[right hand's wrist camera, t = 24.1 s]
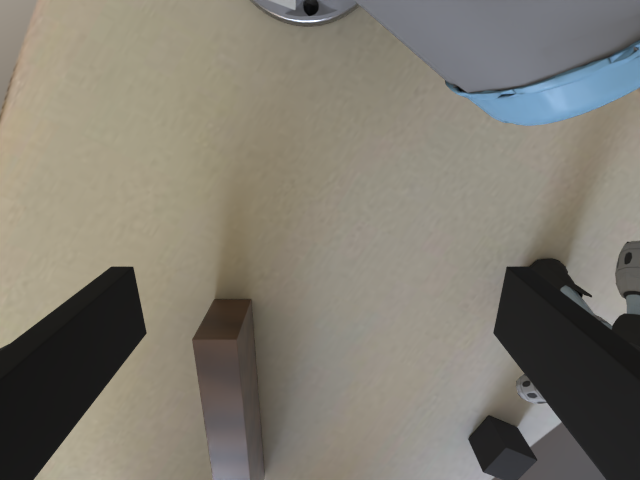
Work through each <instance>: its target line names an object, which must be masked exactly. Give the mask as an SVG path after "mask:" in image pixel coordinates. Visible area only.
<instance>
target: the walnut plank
mask: <svg viewBox="0 0 640 480" xmlns="http://www.w3.org/2000/svg"><path fill="white" fill-rule="evenodd" d="M192 341H193V348H194V355H195V361H196V368H197V375H198V382H199V388H200V395H201V402H202V409H203V415H204V422H205V429H206V436H207V442H208V449H209V456H210V463H211V469H212V476H213V480H264V476H265V472H264V459H263V446H262V433H261V420H260V407H259V393H258V380H257V367H256V354H255V341H254V328H253V315H252V302H251V299H215V300H214V301H213V303H212V305H211V307H210V308H209V310H208V312H207V314H206V316H205V317H204V319H203V321H202V323H201V325H200V326H199V328H198V330H197V332H196V334H195V335H194V337H193V339H192Z"/></svg>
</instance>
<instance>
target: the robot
mask: <svg viewBox="0 0 640 480" xmlns="http://www.w3.org/2000/svg"><path fill="white" fill-rule="evenodd" d="M530 268H531V269H532V270H533V271H535V272H536V273H537V274H539V275H540V276H541V277H543V278H544V279H545V280H547V281H548V282H549V283H551V284H552V285H553V286H555V287H556V288H557V289H558V290H560V291H561V292H562V293H564V294H565V295H566V296H568V297H569V298H570V299H572V300H573V301H574V302H576V303H577V304H578V305H580V306H581V307H582V308H584V309H585V310H586V311H587V312H589V313H590V314H591V315H593V316H594V317H595V318H597V319H598V320H599V321H601V322H602V323H603V324H605V325H606V326H607V327H609V328H610V329H611V330H612V331H614V332H615V333H616V334H618V335H619V336H620V337H622V338H623V339H624V340H626V341H627V342H628V343H633V344H635V345H637V346H639V347H640V241H631V242H627V243H626V244H625V245H624V247H623V248H622V250H621V252H620V254H619V258H618V262H617V266H616V273H615V274H616V275H615V276H616V285H617V288H618V290H619V293H620V294H621V296H622V297H623V298H625V299H626V302H627V314H623V315H621V316H619V317H618V319H617V320H616V321H615V323H614V324H613V326H611V325H610V324H609V323H608V322H606V321H605V320H604V319H602V318H601V317H599V316H596V315H595V314H594V313H593V312H592V311H591V309H590V308H589V307H588V305H587V304H586V303H585V301H584V300H583V299H582V296H583V294H584V295H586V296H589V297H592V295H590V294H589V293H587V292H586V291H584V290H583V289H581V288H580V287H579V286H577V285H576V284H575V283H574V282H573V280H572V279H571V277H570V276H569V275H568V271H567V269H566V266H564V265H563V264H562V263H561V262H560V261H558V260H555V259H541V260H537V261H536V262H535V263H534V264H532V265H531V266H530ZM516 388H517V391H518V395H519V396H520V397H521V398H522V399H524V400H526V401H528V402H532V403H547V402H546V401H545V399H544V398H543V397H542V395H541V394H540V393H539V392H538V390H537V389H536V388H535V386H534V385H533V384H532V383H531V381H530V380H529V379H528V377H527V376H526V375H525V374H524V375H522V376H521V377H520V378H519V379H518V380H517V381H516Z"/></svg>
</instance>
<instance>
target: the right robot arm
mask: <svg viewBox="0 0 640 480" xmlns="http://www.w3.org/2000/svg"><path fill="white" fill-rule="evenodd" d="M250 1H251V2H252V3H253V4H255V5H256V6H257V7H258V8H259V9H261V10H262V11H263V12H265V13H266V14H268V15H269V16H271V17H273V18H275V19H277V20H279V21H282V22H285V23H288V24H292V25H297V26H319V25H324V24H328V23H331V22H334V21H337V20H339V19H341V18H343V17H345V16H346V15H348V14H350V13H351V12H352V11H354V10H355V9H356V8H358V7H359V6H361V7H362V8H363V9H365V10H366V11H367V12H368V13H369V14H370V15H371V16H373V17H374V18H375V19H376V20H377V21H378V22H379V23H381V24H382V25H383V26H384V27H385V28H386V29H387V30H389V31H390V32H391V33H392V34H393V35H394V36H395V37H397V38H398V39H399V40H400V41H401V42H402V43H403V44H405V45H406V46H407V47H408V48H409V49H410V50H411V51H413V52H414V53H415V54H416V55H417V56H418V57H419V58H421V59H422V60H423V61H424V62H425V63H426V64H428V65H429V66H430V67H431V68H432V69H433V70H434V71H436V72H437V73H438V74H439V75H440V76H441V77H442V78H444V79H445V83H446V85H447V86H448V87H449V88H450V89H451V90H452V91H453V92H455V93H456V94H458V95H461V96H464V97H467V98H468V99H470V100H471V101H472V102H473V103H475V104H476V105H477V106H478V107H480V108H481V109H482V110H484V111H485V112H486V113H487V114H489V115H490V116H491V117H493V118H495V119H497V120H499V121H501V122H504V123H514V124H517V125H524V126H531V125H541V124H548V123H553V122H557V121H561V120H565V119H568V118H572V117H575V116H578V115H581V114H584V113H586V112H589V111H591V110H594V109H596V108H599V107H601V106H603V105H606V104H608V103H610V102H612V101H614V100H616V99H618V98H621V97H623V96H624V95H626V94H628V93H630V92H632V91H634V90H636V89H638V88H639V87H640V0H250ZM145 335H146V328H145V323H144V318H143V313H142V308H141V303H140V298H139V293H138V288H137V283H136V278H135V273H134V268H133V267H110V268H109V269H108V270H107V271H105V272H104V273H103V274H101V275H100V276H99V277H97V278H96V279H95V280H93V281H92V282H91V283H89V284H88V285H87V286H85V287H84V288H83V289H82V290H80V291H79V292H78V293H76V294H75V295H74V296H72V297H71V298H70V299H68V300H67V301H66V302H64V303H63V304H62V305H60V306H59V307H58V308H56V309H55V310H54V311H53V312H51V313H50V314H49V315H47V316H46V317H45V318H43V319H42V320H41V321H39V322H38V323H37V324H35V325H34V326H33V327H31V328H30V329H29V330H28V331H26V332H25V333H24V334H22V335H21V336H20V337H18V338H17V339H16V340H14V341H13V342H12V343H10V344H8V345H6V346H4V347H2V348H0V480H34V478H35V477H36V476H37V475H38V473H39V472H40V471H41V469H42V468H43V467H44V465H45V464H46V463H47V462H48V460H49V459H50V458H51V456H52V455H53V454H54V452H55V451H56V450H57V449H58V447H59V446H60V445H61V443H62V442H63V441H64V440H65V438H66V437H67V436H68V434H69V433H70V432H71V430H72V429H73V428H74V427H75V425H76V424H77V423H78V421H79V420H80V419H81V417H82V416H83V415H84V414H85V412H86V411H87V410H88V408H89V407H90V406H91V405H92V403H93V402H94V401H95V399H96V398H97V397H98V395H99V394H100V393H101V392H102V390H103V389H104V388H105V386H106V385H107V384H108V383H109V381H110V380H111V379H112V377H113V376H114V375H115V373H116V372H117V371H118V370H119V368H120V367H121V366H122V364H123V363H124V362H125V360H126V359H127V358H128V357H129V355H130V354H131V353H132V351H133V350H134V349H135V348H136V346H137V345H138V344H139V342H140V341H141V340H142V338H143V337H144V336H145ZM494 335H495V336H496V337H497V338H498V340H499V341H500V342H501V344H502V345H503V346H504V348H505V349H506V350H507V351H508V353H509V354H510V355H511V357H512V358H513V359H514V360H515V362H516V363H517V364H518V366H519V367H520V368H521V370H522V371H523V372H524V373H525V375H526V376H527V377H528V379H529V380H530V381H531V383H532V384H533V385H534V386H535V388H536V389H537V390H538V392H539V393H540V394H541V395H542V397H543V398H544V399H545V401H546V402H547V403H548V405H549V406H550V407H551V408H552V410H553V411H554V412H555V414H556V415H557V416H558V417H559V419H560V420H561V421H562V423H563V424H564V425H565V426H566V428H567V429H568V430H569V432H570V433H571V434H572V436H573V437H574V438H575V439H576V441H577V442H578V443H579V445H580V446H581V447H582V449H583V450H584V451H585V452H586V454H587V455H588V456H589V458H590V459H591V460H592V462H593V463H594V464H595V465H596V467H597V468H598V469H599V471H600V472H601V473H602V475H603V476H604V477H605V478H606V480H640V347H639V346H637V345H635V344H633V343H628V342H627V341H626V340H624V339H623V338H622V337H620V336H619V335H618V334H616V333H615V332H614V331H612V330H611V329H610V328H609V327H607V326H606V325H605V324H603V323H602V322H601V321H599V320H598V319H597V318H595V317H594V316H593V315H591V314H590V313H589V312H587V311H586V310H585V309H584V308H582V307H581V306H580V305H578V304H577V303H576V302H574V301H573V300H572V299H570V298H569V297H568V296H566V295H565V294H564V293H562V292H561V291H560V290H558V289H557V288H556V287H555V286H553V285H552V284H551V283H549V282H548V281H547V280H545V279H544V278H543V277H541V276H540V275H539V274H537V273H536V272H535V271H533V270H532V269H531V268H530V267H507V268H506V273H505V278H504V283H503V288H502V293H501V298H500V303H499V308H498V313H497V318H496V323H495V328H494Z"/></svg>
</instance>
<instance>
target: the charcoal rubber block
mask: <svg viewBox="0 0 640 480" xmlns="http://www.w3.org/2000/svg"><path fill="white" fill-rule="evenodd" d="M468 440H469V442H470V444H471V446H472V449H473V451H474V453H475V455H476V458H477V460H478V462H479V464H480V466H481V469H482V471H483V472H484V473H487V474H489V475H492V476H494V477H497V478H499V479H502V480H518V479H519V478H520V477H521V476H522V475H523V474H524V473H525V472H526V471H527V470H528V469H529V468H530V467H531V466H532V465H533V464H534V463H535V462H536V461H537V459H536V457H535V455H534V454H533V452H532V450H531V449H530V447H529V445H528V444H527V442H526V441H525V439H524V437H523V436H522V434H521V433H520V431H519V429H518V428H517V427H515V426H513V425H510V424H508V423H505V422H503V421H501V420H498V419H496V418H494V417H491V416H488V417H487V418H486V419H485V420H484V422H483V423H482V424H481V425H480V426H479V427H478V428H477V430H476V431H475V432H474V433H473V434H472V435H471V436H470V437H469V439H468Z"/></svg>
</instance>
